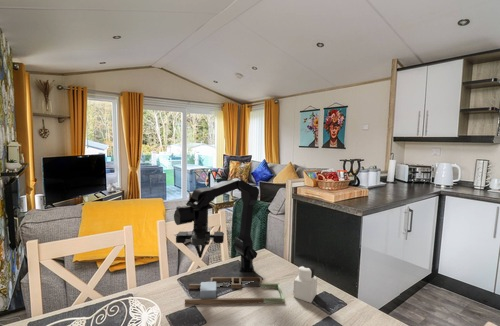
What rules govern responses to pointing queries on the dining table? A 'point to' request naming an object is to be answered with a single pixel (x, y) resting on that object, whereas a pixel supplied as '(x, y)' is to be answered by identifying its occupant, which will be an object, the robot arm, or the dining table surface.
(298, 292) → the medicine bottle
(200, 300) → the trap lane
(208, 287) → the block
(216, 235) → the robot arm
